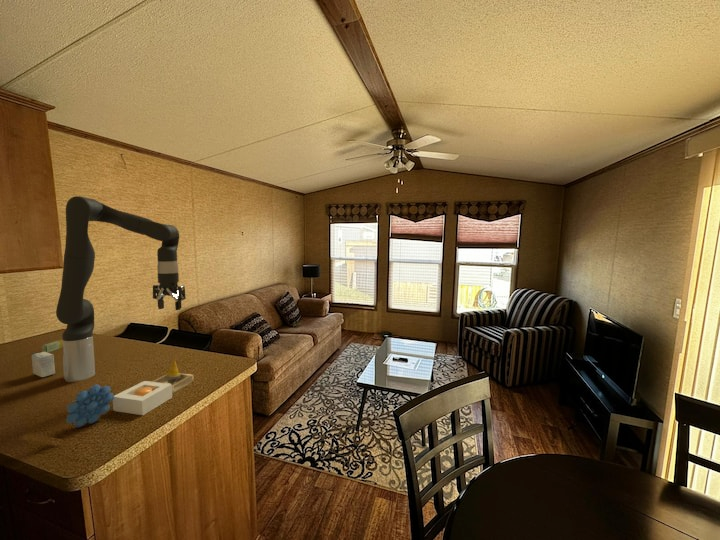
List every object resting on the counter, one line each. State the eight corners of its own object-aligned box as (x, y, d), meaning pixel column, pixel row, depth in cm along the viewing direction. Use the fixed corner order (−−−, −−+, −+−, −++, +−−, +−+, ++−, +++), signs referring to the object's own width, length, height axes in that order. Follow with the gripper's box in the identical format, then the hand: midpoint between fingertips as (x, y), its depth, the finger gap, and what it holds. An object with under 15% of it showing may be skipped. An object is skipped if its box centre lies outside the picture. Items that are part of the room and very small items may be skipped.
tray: (147, 391, 116) (147, 384, 116) (170, 378, 127) (170, 372, 126) (172, 394, 114) (171, 387, 113) (193, 381, 124) (193, 374, 124)
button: (131, 405, 105) (130, 393, 105) (144, 398, 110) (143, 386, 110) (143, 407, 104) (142, 394, 104) (156, 399, 109) (155, 387, 109)
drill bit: (160, 386, 118) (163, 359, 119) (171, 382, 123) (174, 357, 124) (171, 387, 117) (175, 361, 118) (182, 384, 122) (185, 358, 123)
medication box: (45, 353, 153) (45, 346, 152) (41, 352, 153) (41, 345, 153) (71, 345, 165) (71, 338, 164) (67, 344, 165) (67, 337, 165)
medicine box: (55, 373, 130) (54, 354, 129) (41, 377, 126) (39, 357, 125) (46, 370, 133) (45, 351, 132) (32, 374, 129) (30, 354, 128)
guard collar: (113, 410, 103) (112, 396, 102) (145, 393, 114) (144, 380, 114) (142, 415, 100) (142, 400, 100) (172, 397, 112) (171, 384, 111)
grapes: (110, 410, 103) (108, 376, 102) (117, 417, 99) (115, 381, 98) (63, 427, 93) (60, 389, 92) (69, 435, 89) (66, 396, 88)
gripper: (189, 271, 131) (190, 308, 133) (161, 270, 134) (162, 306, 135) (175, 273, 124) (176, 312, 125) (146, 272, 127) (148, 310, 128)
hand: (169, 309), depth 130 cm, fingers open, 8 cm apart
